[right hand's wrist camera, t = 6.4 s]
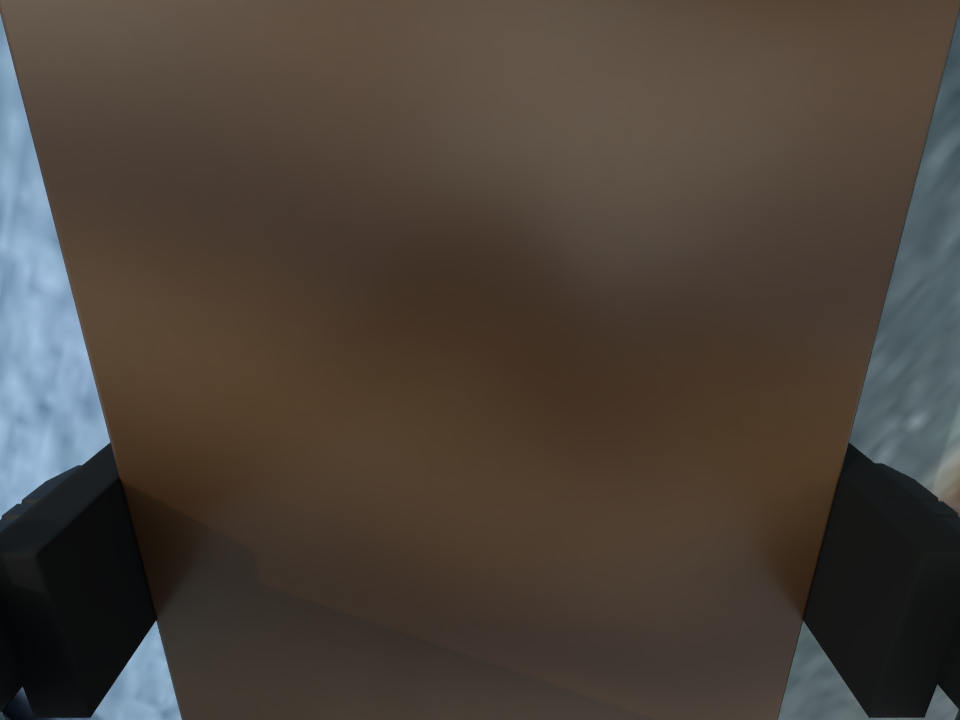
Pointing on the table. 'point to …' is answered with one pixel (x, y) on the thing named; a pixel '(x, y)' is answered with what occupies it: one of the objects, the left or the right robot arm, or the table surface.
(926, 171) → the table surface
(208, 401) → the cabinet
